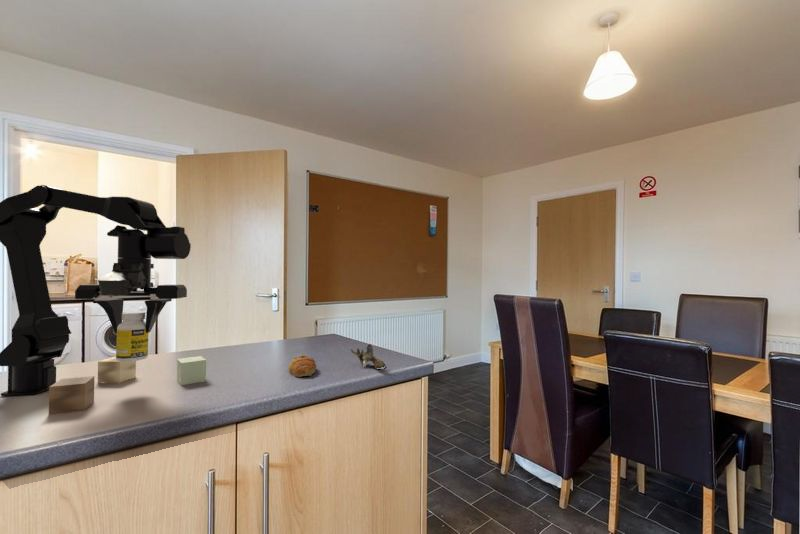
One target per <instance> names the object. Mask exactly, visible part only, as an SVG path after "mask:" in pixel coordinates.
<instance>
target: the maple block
mask: <svg viewBox="0 0 800 534" xmlns="http://www.w3.org/2000/svg"><path fill="white" fill-rule="evenodd" d="M136 373H137V361H130V362H121V361H117V360H116V355H115V356H112V357H108V358H105V359H102V360H99V361H97V383H98V382H100V383H99V384H102V383H101V382H104V383H103V384H121V383H120V382H122V383H124V382H123V381H125V382H126V380H127V381H129V380H128V379H130V380H132V379H134V378H133V377H135V378H136V376H137V374H136ZM131 378H132V379H131ZM105 382H106V383H105Z"/></svg>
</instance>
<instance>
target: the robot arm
mask: <svg viewBox="0 0 800 534" xmlns="http://www.w3.org/2000/svg"><path fill="white" fill-rule="evenodd" d="M41 206H42V207H41ZM38 207H40V208H38ZM64 208H66V209H70V210H75V211H76V210H77V211H80V212H84V213H85V212H86V213H91V214H95V215H99V216H101V217H104V218H105V219H108V220H110V221H112V222H114V223H117V225H116V226H115V227H114V228H113V229H111V230H110V231H108V232H107V233H106V235H107V236H108V237H115V238H117V262H113V265H112V270H111V272H107V273H106V274H104V275H102V276H101V277H98V279H97V284H95V283H93V284H79V285H78V286H77V288H75V290H74V291H75V292H74V299H75V300H92V303H93V304H97V305H99V306H100V307H101V308H102V309H103V310H104V312H105V314H106V315H107V318H108V320H109V322H110V324H111V326H112V329H113V332H114V333H115V334H117V327H118V325H119V324H121V323H123V320H122V313H124V311H123V310H124V303H125V302H124V301H125V300H124V298H118V297H124V296H125V297H138V296H139V297H149V298H150V299H148V300H144V304H145V306H146V312H145V322H146V333H151V332H152V329H153V327H154V326H155V323H156V321H157V320H158V317H159V315H160V314H161V312H162V310H163V308H164V307H165V306H166V305H167V303H168V302H172V300H175V299H176V300H177V299H183V298H187V295H188V290H187V287H186V286H185V284H160V285H159V284H158V285H157V286H156V287H154V282H151V278H152V277H151V276H152V274H151V273H152V269H154V268H155V267H154V265H155V264H154V263H152V258H153V259H156V260H158V259H159V260H164V259H165V260H185V259H187V258H188V257H189V255H190V252H191V242H190V240H189V237H188V235H187V234H186V233H185V232H186V231H185V229H186V228H185V227H181V226H169V227H167V226H166V225H165V223H164V222H163V221H162V219H161V218H160V217H159V215H158V211H157V208H156V207H155V205H154V204H153V203H151V202H148V201H143V200H140V199H137V198H133V197H130V196H108V197H106V196H105V197H103V196H102V197H101V196H95V195H90V194H85V193H80V192H76V191H75V192H74V191H71V190H70V191H69V190H65V189H61V188H58V187H53V186H49V185H45V184H41V185H35V186H34V187H33V188H31V189H29V190H28V191H25V192H22V193H19V194H16V195H13V196H8V197H7V198H5V199H3V200H2V201H0V243H1V244H2V245H3V246H4V247H5V249H6V254H7V259H8V264H9V269H10V273H11V278H12V279H11V280H12V283H13V288H14V289H13V290H14V295H15V299H16V305H17V309H18V318H17V320H16V321H15V322H14V324H13V326H12V328H11V342H10V343H9V344H8V345H7V346H6V347H5V348H3V349H2V350H1V351H0V367H7V391H3V392H1V393H0V396H1V397H4V396H5V397H6V396H25V395H26V396H27V395H28V396H29V395H38V394H40V393H43V392H45V391H49V387H50V386H51V385H53V384H54V383H56V382H57V366H56V365H55V359H56V358H61V357H62V356H63V353H64V350H65V347H66V345H67V344H69V343H70V342H69V341H70V335H71V334H72V331H71V330H70V327H69V320H68V319H69V318H68V317H67V316H66V315H62V316H59V315H58V314H57V313H56V312H55V311H54V310H53V307H52V303H51V302H52V301H51V297H50V293H49V292H50V291H49V286H48V282H47V277H46V273H45V267H44V262H43V258H42V251H41V244H42V242H43V240H44V239H45V237H46V235H47V226H48V224H49V223H51V222H53V221H54V220H56V219H57V216H58V214H59V211H60V210H61V209H64ZM118 224H120V225H118ZM126 226H129V227H131V229H129V228H127V227H126ZM145 232H146V233H145ZM139 289H140V290H139ZM93 299H94V300H93Z"/></svg>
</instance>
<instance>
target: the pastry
mask: <svg viewBox="0 0 800 534" xmlns="http://www.w3.org/2000/svg"><path fill="white" fill-rule="evenodd" d="M316 369H317V364H316V361H315V359H314V358H312V357H310V356H307V355H303V354H302V355H299V356H297V357H294V358H293V359H292V360H291V361H290V364H288V371H289V374H291V375H292V376H293V375H294V377H295V376H296V377H298V378H301V377H305V376H306V377H307V376H308V377H309V376H311V377H312V375H314V373H315V372H316Z"/></svg>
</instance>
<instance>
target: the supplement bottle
mask: <svg viewBox="0 0 800 534" xmlns="http://www.w3.org/2000/svg"><path fill="white" fill-rule="evenodd" d="M145 320H146V312H145V311H127V312H123V313H122V323H121V324H119V325H118V327H117V333H116V345H115V346H116V349H115V350H116V353H115V356H116V360H117V361H121V362H130V361H136V362H137V361H141V360H145V359H147V358H148V355H149V333H150V332H149V333H146V321H145Z"/></svg>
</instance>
